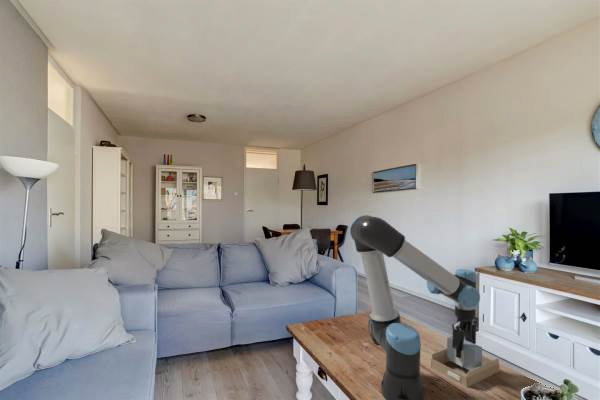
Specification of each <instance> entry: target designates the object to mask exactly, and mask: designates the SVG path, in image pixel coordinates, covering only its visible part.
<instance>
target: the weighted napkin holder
mask: <svg viewBox="0 0 600 400" xmlns="http://www.w3.org/2000/svg"><path fill="white" fill-rule="evenodd" d="M452 342H453V335H451V336H449V337H447V338H446V348H447V359H448V360H450V361H449V362H452V363H454V364H456V349H455V348H453V347H452ZM462 350H464V359H463V367H462V368H464V369H466V370H468V371H471V370H473V369H475V368H477V367H479V366H482V356H483V346H480V345H478V344H473V343H471V342H469V341H466V340H465V339H464V343H463V348H462Z"/></svg>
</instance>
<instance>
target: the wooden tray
mask: <svg viewBox="0 0 600 400" xmlns="http://www.w3.org/2000/svg"><path fill="white" fill-rule="evenodd" d="M499 360H500V359H499V358H496V359H491V358H489V357H486V356H484V355H482V364H483V365H482V366H479V367H477V368H475V369H473V370H471V371H470V370H468V371H467V372H466V376H465V375H464V374H462V373H460V372H458V371H456V370H455V369H452V368H451V367H448V366H447V365H445V364H446V363H449V362H451V361H450V360H448V359H447V347H446V348H444V349H441V350H437V351H435V352H432V353H431V358H430V369H432V370H434V371H436V372H439V373H440V374H442V375H444V376H445V377H447V378H449V379H451V380H453V381H455V382H457V383H459V384H460V385H462V386H464V387H466V388H469V387H470V386H473V385H475V384H477V383H478V382H481V381H484V380H485V379H487V378H489V377H491V376H494V375H495V373H496V374H498V373H500V363H499ZM448 361H449V362H448ZM497 372H498V373H497ZM493 374H494V375H493Z"/></svg>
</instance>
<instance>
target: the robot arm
mask: <svg viewBox="0 0 600 400" xmlns="http://www.w3.org/2000/svg"><path fill="white" fill-rule="evenodd" d="M349 234H350V236H351V238H352V240H353V241H354V245H355V246H354V247H355V250H356V253H358V254H360V256H361V260H362V265H363V270H364V275H365V280H366V284H367V290H368V295H369V299H370V303H371V308H372V311H371V313H370V314H369V316H370V318H371V321H370V330H371V333H372V335H373V337H374V338H375V340H376V341H377V342H378V343H377V344H378V345H379V346H380V347H381V349H382V350H383V351H384V353H385V371H384V374H383V377H382V380H381V382H380V383H381V384H380V393H381V396H383V397H384V399H385V400H426V390H425V388H424V386H423V382H422V379H421V378H422V377H421V346H422V345H421V337H420V333H419V332H418V330H416V328H415V327H413V326H411V325H408V324H406V323H403V322H402V321H401V316H400V311H399V310H398V309H396V308H395V306H394V301H393V295H392V291H391V285H390V281H389V277H388V270H387V266H386V261H385V257H384V256H386V257H387V258H393V259H395V260H396V261H398V262H399V263H401V265H402V264H403V265H404V266H405V267H407V268H408V269H409V270H410V271H413V273H414V274H416V275H418V276H419V277H421V278H422V279H424V281H426V287H427V290H428V291H429V293H431V294H433V295H443V296H445V297H447V298H448V299H450V300H451V301H454V305H455V306H454V315H455V317H456V318H457V319H456V323H452V325H451V328H452V336H453V342H452V347H453V348H455V349H456V363H455V365H458V366H460V367H461V368H464V367H463V359H464V350H462V348H463V343H464V340H466V341H469V342H471V343H473V344H476V343H477V336H476V335H477V323H478V321H477V320H476V306H478V304H479V303H480V300H481V294H480V292H479V291H478V289H477V283H478V282H477V274H476V272H475V271H473V270H471V269H464V268H459V269H456V270H455V274H453V273H452V272H450V271H449V270H447V269H446V268H445V267H443V266H442V265H440V264H439V263H438V262H437V261H435V260H434V259H432V258H431V257H430V256H428V255H426V254H425V253H423V252H422V251H421V250H419V249H418V248H417V247H416V246H414V245H413V244H411V243H410V242H408V241H407V240H406V236H405V235H404V234H402V232H400V231H398V230H397V229H396V228H395V227H393V226H392V225H391V224H389V223H388V222H387V221H386V220H384V219H382V218H381V217H378V216H372V215H367V214H366V215H360V216H358V217H357V216H356V218H354V219H353V221H352V222H351V223H350V226H349ZM476 345H477V344H476Z"/></svg>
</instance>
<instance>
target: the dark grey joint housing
mask: <svg viewBox="0 0 600 400" xmlns="http://www.w3.org/2000/svg"><path fill="white" fill-rule="evenodd" d="M370 321H371V318H370V315H369V316H368V322H367V323H368V332H369V334H370V337H371V340H372V343H374V344H379V343H378V342H377V341H376V340H375V338H374V337H373V335H372V333H371V330H370Z"/></svg>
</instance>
